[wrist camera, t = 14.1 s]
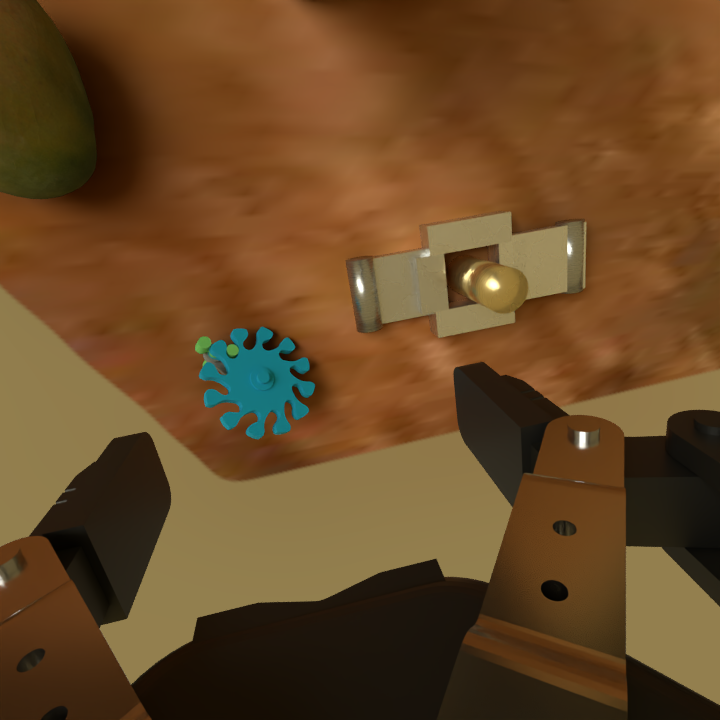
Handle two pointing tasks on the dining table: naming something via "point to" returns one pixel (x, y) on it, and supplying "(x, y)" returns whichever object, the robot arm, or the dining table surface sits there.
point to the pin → (487, 283)
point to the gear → (254, 380)
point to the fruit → (41, 108)
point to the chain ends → (428, 276)
